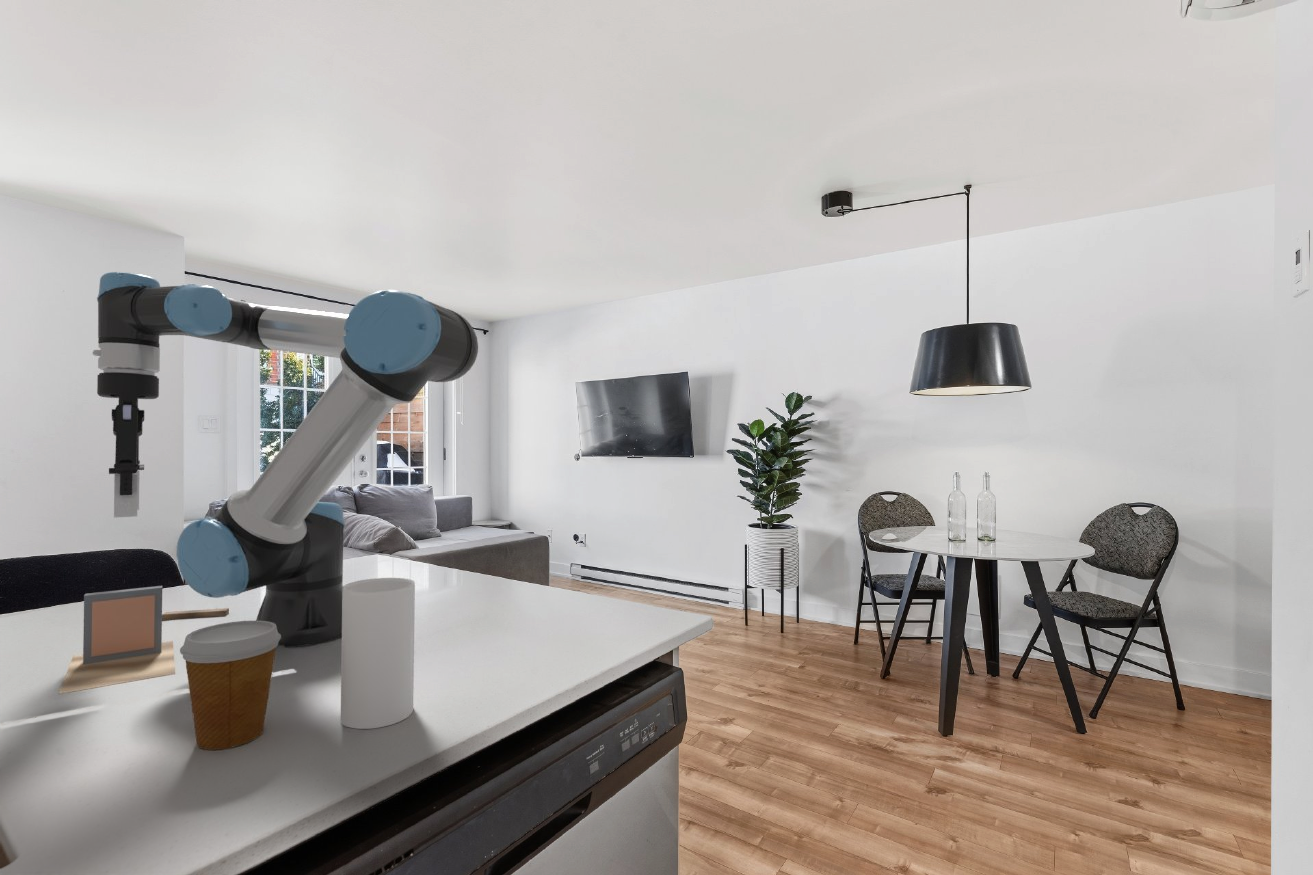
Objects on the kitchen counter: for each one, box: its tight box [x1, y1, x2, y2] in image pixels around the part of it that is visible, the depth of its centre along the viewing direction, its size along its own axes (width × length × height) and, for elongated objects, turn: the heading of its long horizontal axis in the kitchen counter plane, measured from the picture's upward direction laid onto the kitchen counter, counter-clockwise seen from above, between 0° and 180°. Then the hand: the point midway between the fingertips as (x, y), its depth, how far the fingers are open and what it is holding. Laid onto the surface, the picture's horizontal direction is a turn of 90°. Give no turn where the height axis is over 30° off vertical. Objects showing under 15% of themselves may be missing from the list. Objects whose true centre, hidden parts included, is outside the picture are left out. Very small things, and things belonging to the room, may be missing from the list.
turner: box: [162, 607, 230, 622], centre depth 117 cm, size 18×6×2 cm, turn 108°
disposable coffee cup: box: [179, 620, 281, 751], centre depth 72 cm, size 10×10×12 cm
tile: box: [82, 585, 163, 665], centre depth 96 cm, size 2×9×10 cm, turn 128°
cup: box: [340, 577, 416, 730], centre depth 78 cm, size 8×8×16 cm
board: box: [58, 640, 176, 695], centre depth 93 cm, size 18×12×1 cm, turn 38°
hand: (127, 513), depth 101 cm, fingers open, 10 cm apart
